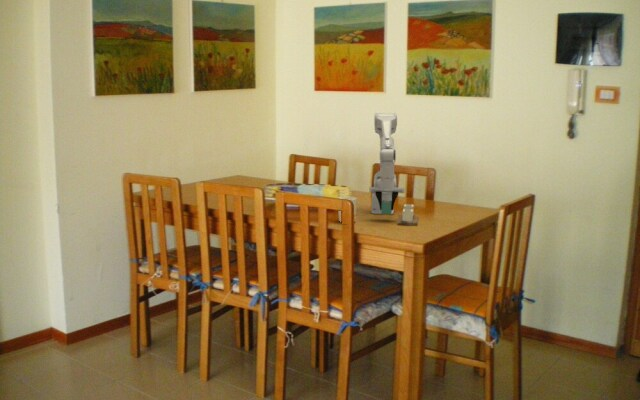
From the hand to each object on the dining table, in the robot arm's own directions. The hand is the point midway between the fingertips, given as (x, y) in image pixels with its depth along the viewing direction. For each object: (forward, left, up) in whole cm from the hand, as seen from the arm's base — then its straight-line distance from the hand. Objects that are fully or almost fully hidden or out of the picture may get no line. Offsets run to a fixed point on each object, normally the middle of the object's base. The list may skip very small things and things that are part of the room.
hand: (386, 209), depth 289 cm
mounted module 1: (+9, +5, -3) cm, 11 cm away
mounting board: (+9, 0, -5) cm, 10 cm away
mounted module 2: (+9, -6, -3) cm, 11 cm away
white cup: (-16, -5, -5) cm, 17 cm away
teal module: (0, 0, -2) cm, 2 cm away
